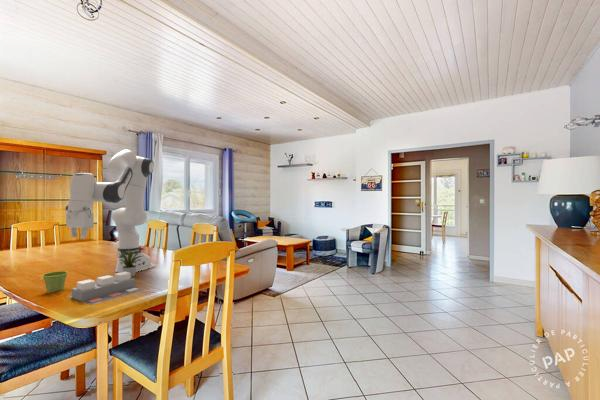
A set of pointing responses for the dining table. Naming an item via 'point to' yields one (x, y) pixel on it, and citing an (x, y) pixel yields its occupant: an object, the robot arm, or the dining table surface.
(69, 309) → the dining table surface
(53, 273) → the plant pot
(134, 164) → the robot arm
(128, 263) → the house plant
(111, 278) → the key middle
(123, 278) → the key
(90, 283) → the key
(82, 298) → the switch panel
